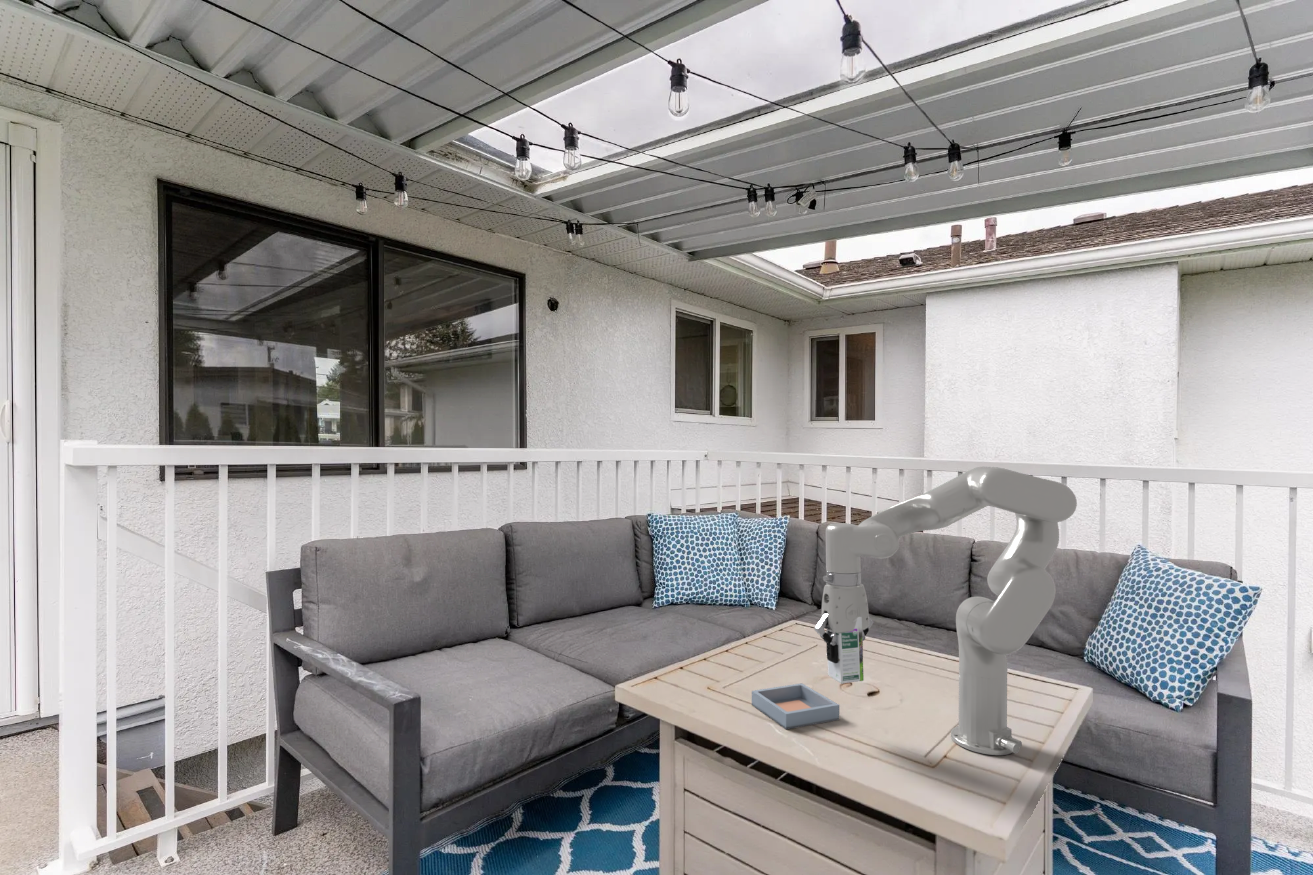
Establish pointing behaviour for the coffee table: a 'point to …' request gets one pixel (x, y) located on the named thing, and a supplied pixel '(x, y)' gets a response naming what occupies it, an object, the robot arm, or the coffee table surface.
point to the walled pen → (795, 706)
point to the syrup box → (848, 656)
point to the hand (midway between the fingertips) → (845, 658)
